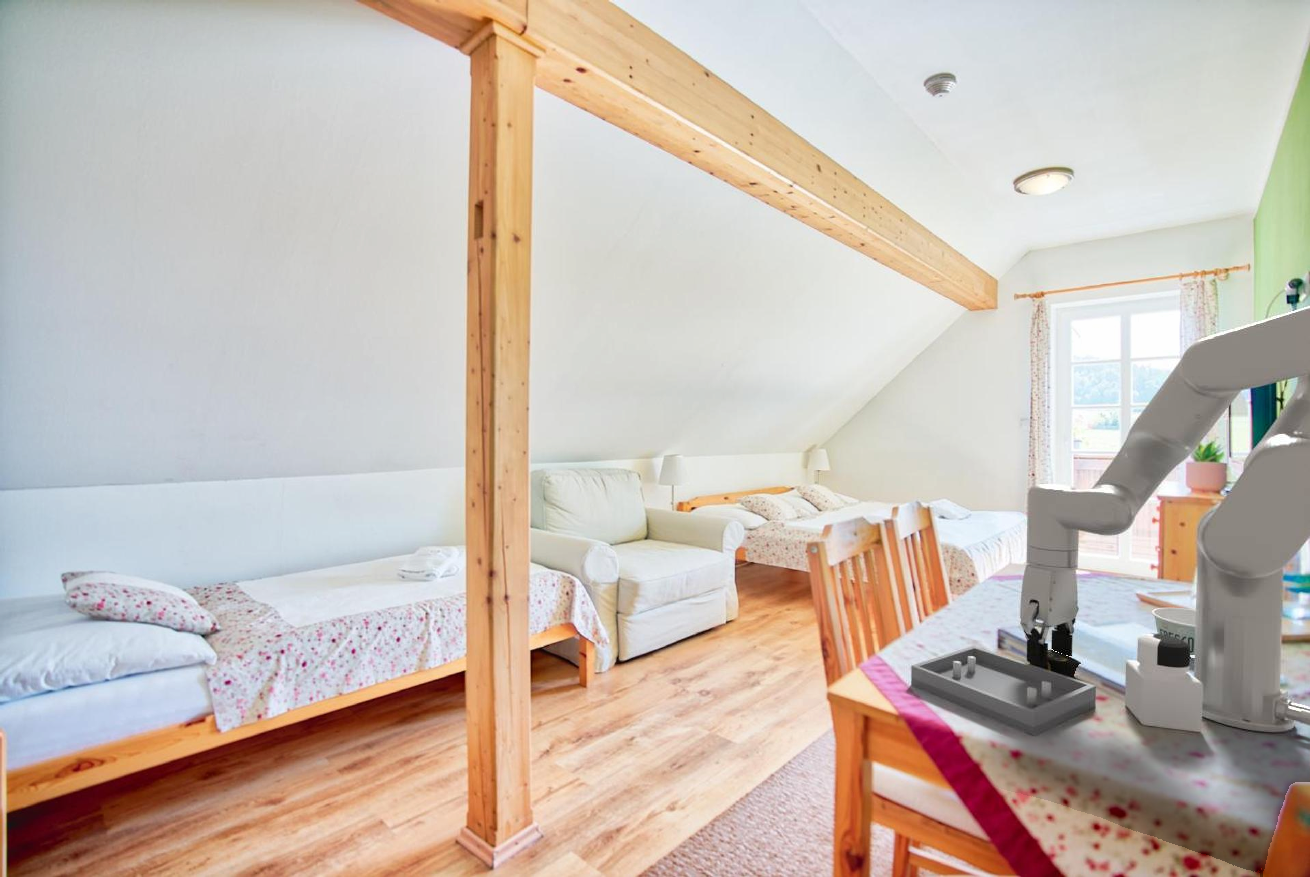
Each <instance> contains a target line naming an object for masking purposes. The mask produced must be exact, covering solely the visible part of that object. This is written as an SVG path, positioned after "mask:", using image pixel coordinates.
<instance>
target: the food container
mask: <svg viewBox="0 0 1310 877" xmlns="http://www.w3.org/2000/svg"><path fill="white" fill-rule="evenodd" d="M1151 615H1153V617H1154V621H1155V627H1156V631H1157V634H1163V635H1169V636H1173V637H1176V638H1178V639H1180V640H1182V641H1184V642H1186V643H1187V644H1188V645H1189V646H1190V655H1195V623H1196V609H1188V608H1182V607H1181V608H1180V607H1159V608H1155V609H1153V610H1151Z"/></svg>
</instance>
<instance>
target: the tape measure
mask: <svg viewBox="0 0 1310 877" xmlns="http://www.w3.org/2000/svg"><path fill="white" fill-rule="evenodd" d="M1081 663H1082V662H1081V661H1079V660H1077V659H1076V658H1073V657H1069V656H1066V655H1064V654H1061V653H1058V652H1055V651H1053V650H1051V649H1050V650H1048V665H1047V666H1046V667H1042V666H1039V665H1036V664H1033V663H1030V662H1029V664H1030V665H1033V666H1037V667H1040V668H1043V669H1046V670H1049V671H1052V672H1055V673H1058V674H1061V675H1064V676H1067V677H1070V678H1074V679H1075V677H1074V674H1075V671H1076V668H1077V667H1078V665H1079V664H1081Z"/></svg>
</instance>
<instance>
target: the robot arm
mask: <svg viewBox="0 0 1310 877" xmlns="http://www.w3.org/2000/svg"><path fill="white" fill-rule="evenodd" d="M1294 378H1297V383H1296V386H1295V388H1294V389H1295V390H1294V391H1293V393H1292V395H1291V397H1290V398H1289V400H1288V401H1287V403H1286V404H1285V405H1284V407H1283V409H1282V410H1281V412H1280V414H1279V416H1278V417H1277V418H1276V419H1275V421H1274V422H1273V423H1272V425H1271V426H1270V428H1269V429H1268V430H1267V432H1266V433H1265V435H1263V437H1262V438H1261V440H1260V441H1258V443H1257V445H1256V446H1255V447H1254V448H1253V449H1252V450H1251V451H1249V453H1248V455H1247V456H1246V458H1245V460H1244V463H1243V467H1242V469H1243V470H1242V473H1241V474H1240V476H1239V477H1238V479H1237V480H1236V481H1235V483H1234V484H1233V485H1232V487H1231V488H1230V490H1229V491H1228V493H1227V494H1226V496H1224V499H1223V500H1222V501H1221V502H1219V503H1218V504H1217V503H1216V504H1215V505H1213V506H1211V507H1210V508H1208V509H1207V510H1206V511H1205V512H1204V513H1203V514H1202V515H1201V516H1200V519H1199V520H1198V523H1197V527H1196V538H1195V539H1196V590H1195V593H1196V594H1195V610H1196V623H1195V659H1194V663H1193V664H1194V667H1193V668H1194V669H1193V672H1194V673H1193V676H1194V677H1195V678H1196V679H1198V680H1199V681H1200V682H1201V683H1202V684H1203V704H1202V718H1205V719H1207V720H1210V721H1213V722H1216V723H1219V724H1222V725H1226V726H1229V727H1235V728H1237V729H1243V730H1249V731H1255V732H1264V733H1283V732H1288V731H1290V730H1293V728H1294V726H1295V722H1298V723H1300V724H1302V725H1303V724H1304V725H1305V726H1310V706H1308V705H1304V704H1298V703H1295V702H1293V701H1292V700H1291V699H1289V697H1288V696H1289V695H1288V690H1286V689H1283V688H1281V672H1282V671H1281V667H1282V637H1283V636H1282V635H1283V634H1282V633H1283V614H1284V568H1285V567H1286V566H1287V565H1288V564H1290V562H1291V561H1292V560H1293V559H1294V557H1295V556H1296V555H1297V554H1298V553H1299V551H1300V550H1301V549H1302V548H1303V546H1304V545H1305V544H1306V543H1307V541H1308V540H1309V539H1310V306H1307V307H1304V308H1300V309H1297V310H1294V311H1291V312H1288V313H1287V312H1286V313H1285V314H1284V313H1283V314H1281V315H1277V316H1273V317H1271V318H1267V319H1265V320H1261V321H1258V322H1254V323H1252V324H1247V325H1245V326H1241V327H1237V328H1235V329H1230V330H1228V331H1227V330H1226V331H1224V332H1220V333H1217V334H1213V335H1209V336H1206V337H1204V338H1200V339H1199V340H1197V341H1196V342H1194V343H1192V344H1191V345H1190V346H1188V348H1187V349H1186V350H1185V351H1184V353H1183V355H1182V356H1181V359H1180V360H1179V362H1178V363H1177V365H1176V366H1175V367H1174V368H1173V370H1172V371H1171V372H1170V374H1169V375H1168V377H1167V378H1166V380H1165V381H1164V382H1163V383H1162V385H1161V386H1160V388H1159V389H1158V390H1157V392H1156V393H1155V395H1154V396H1153V397H1152V398H1151V400H1150V401H1149V402H1148V404H1147V405H1146V407H1145V408H1144V409H1143V411H1142V412H1141V413H1139V415H1138V417H1137V418H1136V419H1135V421H1134V423H1133V424H1132V426H1131V428H1130V429H1129V432H1128V433H1127V436H1126V439H1125V440H1124V443H1123V445H1122V446H1121V448H1120V450H1119V451H1118V452H1117V454H1116V455H1115V457H1114V458H1113V459H1112V461H1111V462H1110V463H1109V465H1108V466H1107V468H1106V469H1105V471H1104V472H1103V473H1102V475H1100V477H1099V478H1098V479H1097V481H1096V482H1095V483H1094V485H1093V486H1092V487H1091V489H1077V488H1075V487H1073V486H1070V485H1065V484H1054V483H1053V484H1052V483H1045V484H1044V483H1042V484H1034V485H1032V486H1031V487H1030V488H1029V489H1028V491H1027V521H1026V523H1027V524H1026V525H1027V526H1026V527H1027V528H1026V558H1025V559H1026V562H1025V563H1026V565H1025V568H1024V572H1023V577H1022V583H1021V593H1020V602H1019V603H1020V604H1019V618H1020V623H1019V624H1020V626H1021V627H1022V630H1023V633H1024V635H1025V636H1024V637H1025V638H1024V639H1025V640H1026V661H1027V662H1028V663H1029V664H1030V663H1033V664H1036V665H1039V666H1042V667H1046V666H1047V665H1048V649H1049V643H1047V642H1046V640H1047V637H1048V633H1049V630H1050V628H1053V629H1052V630H1051V645H1050V646H1051V648H1050V650H1051V649H1053V650H1054V651H1057V652H1059V653H1062V654H1064V655H1068V656H1072V657H1073V638H1074V637H1073V634H1074V633H1075V627H1074V625H1075V624H1076V621H1077V620H1076V617H1077V615H1078V612H1079V608H1080V607H1079V606H1078V598H1079V597H1078V595H1079V594H1078V579H1077V570H1078V568H1079V541H1080V540H1079V539H1080V538H1079V537H1080V535H1079V533H1080V532H1079V531H1081V532H1084V533H1088V534H1089V533H1090V534H1093V535H1099V536H1106V537H1107V536H1110V537H1112V536H1117V535H1120V534H1122V533H1124V532H1126V531H1128V530H1129V529H1130V528H1131V526H1132V525H1133V523H1134V521H1135V519H1136V516H1138V513H1139V512H1140V511H1141V509H1142V508H1143V507H1144V505H1146V503H1147V501H1148V500H1149V499H1150V497H1151V496H1152V495H1153V494H1154V493H1155V492H1156V490H1157V489H1158V488H1159V486H1160V485H1161V484H1162V483H1163V482H1164V480H1165V479H1166V478H1167V477H1168V475H1170V473H1172V471H1174V469H1175V468H1176V467H1178V466H1179V465H1180V464H1181V463H1182V462H1184V461H1185V460H1187V459H1188V458H1189V456H1191V454H1192V453H1193V452H1194V451H1195V450H1196V449H1197V447H1198V446H1199V445H1200V444H1201V443H1202V441H1203V440H1204V439H1205V437H1206V435H1208V434H1209V432H1210V430H1212V428H1213V427H1214V426H1215V425H1216V423H1217V422H1218V421H1219V419H1220V418H1221V417H1222V415H1223V414H1224V413H1225V412H1226V411H1227V409H1228V408H1229V407H1230V405H1231V404H1232V403H1233V402H1234V400H1236V398H1237V396H1238V395H1239V394H1240V393H1241V392H1242V391H1244V390H1250V389H1253V388H1259V387H1263V386H1267V385H1272V384H1275V383H1279V382H1283V381H1287V380H1291V379H1294ZM1037 620H1038V621H1042V622H1037ZM1037 628H1039V629H1040V632H1039V630H1038V629H1037Z"/></svg>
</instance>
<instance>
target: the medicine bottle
mask: <svg viewBox="0 0 1310 877" xmlns="http://www.w3.org/2000/svg"><path fill="white" fill-rule="evenodd" d="M1136 656H1137V657H1136V660H1134V659H1127V660H1126V661H1125V682H1124V683H1125V688H1124V690H1125V691H1124V696H1125V697H1124V704H1125V706H1126V707H1127V709H1128V710H1130V712H1131V713H1132V714H1133V715H1134V716H1135V718H1136V719H1137V720H1138V721H1139V722H1140V724H1141V725H1143V726H1147V727H1155V728H1162V729H1170V730H1179V731H1186V732H1196V733H1201V732H1202V731H1203V717H1202V704H1203V684H1202V683H1201V682H1200V681H1199V680H1198V679H1196V678H1195V677H1194V674H1192V673H1191V672H1190V668H1191V667H1190V666H1191V664H1190V661H1191V658H1190V646H1189V645H1188V644H1187V643H1186V642H1184V641H1182V640H1180V639H1178V638H1176V637H1173V636H1169V635H1163V634H1158V633H1146V634H1141V635H1139V636H1138V637H1137V654H1136Z"/></svg>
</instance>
